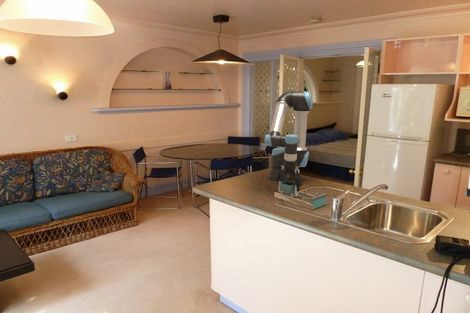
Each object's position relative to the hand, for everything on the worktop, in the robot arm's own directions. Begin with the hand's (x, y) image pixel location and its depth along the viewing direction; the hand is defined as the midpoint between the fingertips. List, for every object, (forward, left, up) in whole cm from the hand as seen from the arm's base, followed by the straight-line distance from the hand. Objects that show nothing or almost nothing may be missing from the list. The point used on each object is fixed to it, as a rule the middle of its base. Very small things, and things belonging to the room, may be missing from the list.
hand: (288, 193), depth 209 cm
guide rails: (0, +9, -2) cm, 9 cm away
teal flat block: (0, +22, -2) cm, 22 cm away
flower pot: (0, 0, -2) cm, 2 cm away
